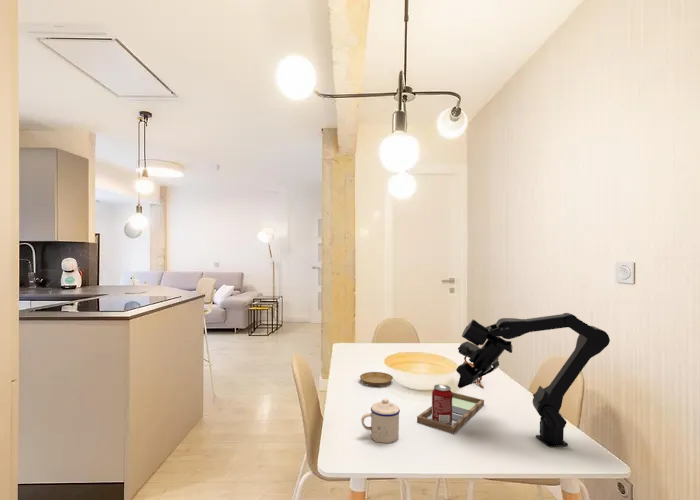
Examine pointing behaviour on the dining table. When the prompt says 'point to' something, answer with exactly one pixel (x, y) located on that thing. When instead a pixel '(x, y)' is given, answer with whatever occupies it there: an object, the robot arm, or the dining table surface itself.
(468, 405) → the pad
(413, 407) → the dining table surface
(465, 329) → the robot arm
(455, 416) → the pads
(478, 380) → the cat figurine
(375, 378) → the plant saucer
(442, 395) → the soda can
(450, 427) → the walnut tray
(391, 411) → the teacup with lid
